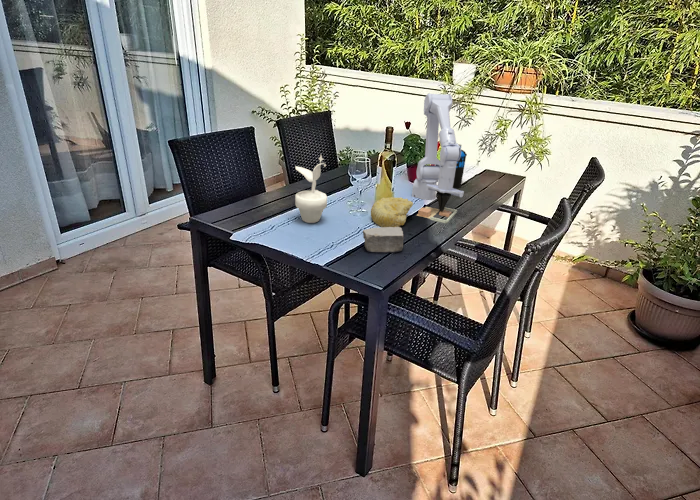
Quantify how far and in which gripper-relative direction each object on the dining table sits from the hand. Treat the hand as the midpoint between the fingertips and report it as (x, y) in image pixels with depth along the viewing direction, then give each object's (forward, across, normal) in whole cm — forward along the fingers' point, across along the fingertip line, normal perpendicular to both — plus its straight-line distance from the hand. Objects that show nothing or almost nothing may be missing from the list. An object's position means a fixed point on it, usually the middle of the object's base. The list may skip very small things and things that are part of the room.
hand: (441, 210), depth 179 cm
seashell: (+3, -14, -18) cm, 23 cm away
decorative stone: (+3, -7, -40) cm, 40 cm away
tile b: (+1, -5, -6) cm, 8 cm away
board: (+3, -4, -2) cm, 6 cm away
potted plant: (+3, -40, -33) cm, 52 cm away
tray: (+3, +2, -2) cm, 4 cm away
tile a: (+2, +2, 0) cm, 3 cm away
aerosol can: (+3, -8, +43) cm, 44 cm away
